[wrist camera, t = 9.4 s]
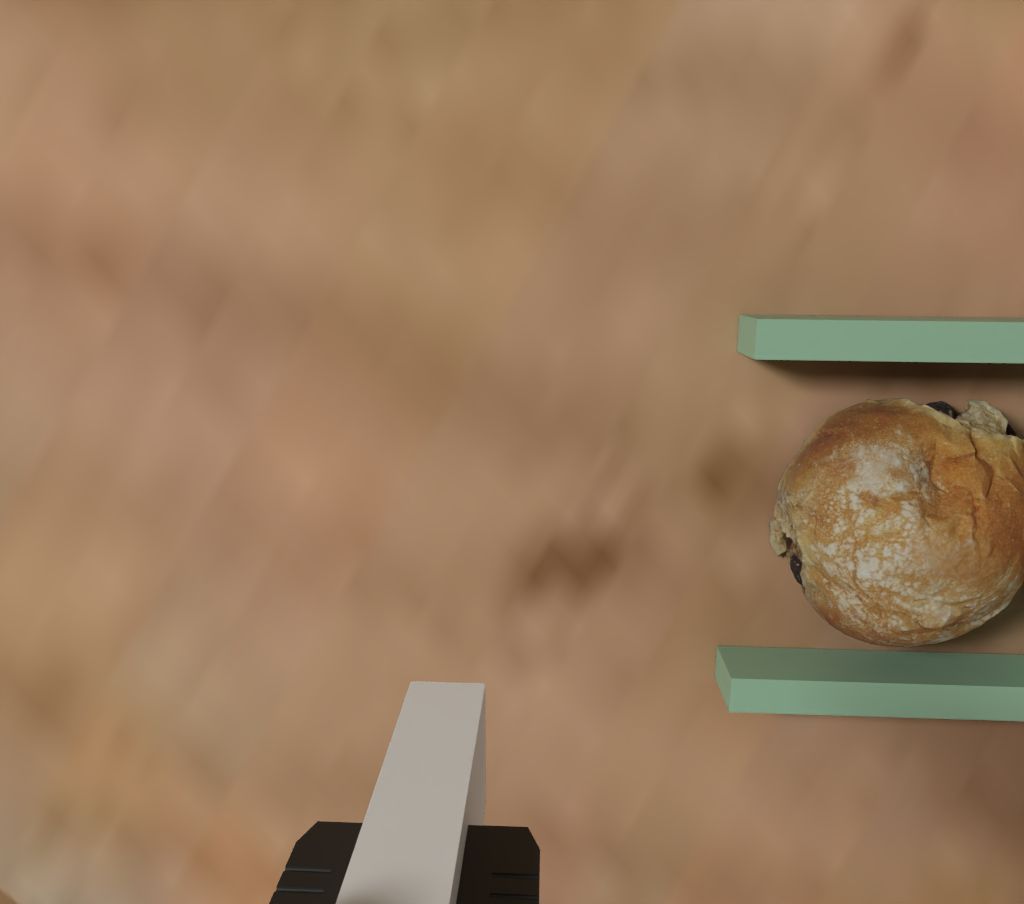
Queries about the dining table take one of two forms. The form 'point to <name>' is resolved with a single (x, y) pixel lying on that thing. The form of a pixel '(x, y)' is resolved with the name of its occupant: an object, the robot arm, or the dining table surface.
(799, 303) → the dining table surface
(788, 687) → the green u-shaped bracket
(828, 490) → the bread roll
